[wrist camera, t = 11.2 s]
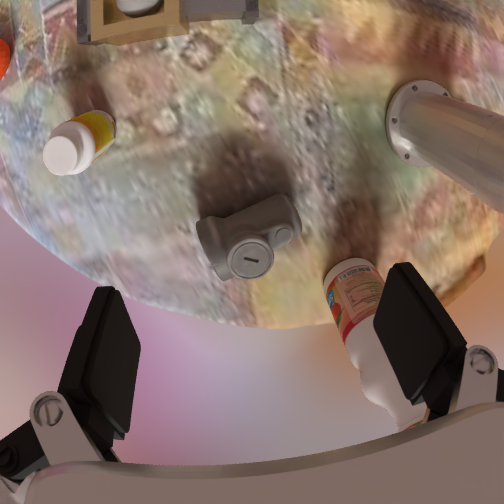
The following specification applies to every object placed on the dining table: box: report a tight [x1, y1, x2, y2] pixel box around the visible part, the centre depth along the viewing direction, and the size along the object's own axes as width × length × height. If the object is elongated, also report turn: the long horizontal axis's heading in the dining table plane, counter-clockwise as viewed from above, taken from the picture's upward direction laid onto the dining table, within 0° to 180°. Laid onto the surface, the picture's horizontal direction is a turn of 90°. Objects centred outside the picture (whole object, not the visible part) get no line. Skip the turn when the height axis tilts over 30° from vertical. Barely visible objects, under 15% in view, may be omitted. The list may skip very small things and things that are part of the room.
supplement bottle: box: [43, 110, 116, 175], centre depth 27 cm, size 6×6×10 cm
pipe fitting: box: [196, 193, 302, 281], centre depth 37 cm, size 12×8×10 cm
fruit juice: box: [323, 258, 427, 433], centre depth 37 cm, size 9×9×28 cm
